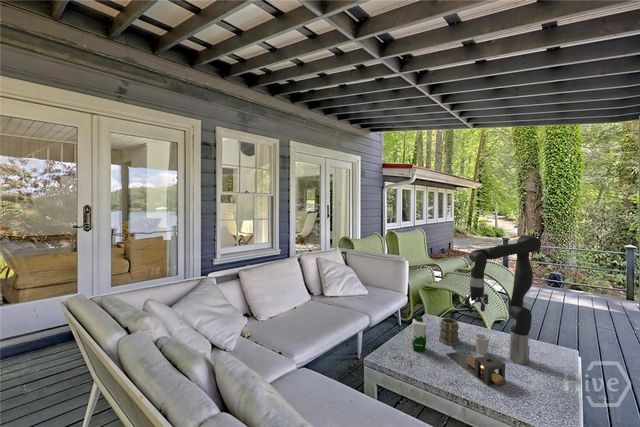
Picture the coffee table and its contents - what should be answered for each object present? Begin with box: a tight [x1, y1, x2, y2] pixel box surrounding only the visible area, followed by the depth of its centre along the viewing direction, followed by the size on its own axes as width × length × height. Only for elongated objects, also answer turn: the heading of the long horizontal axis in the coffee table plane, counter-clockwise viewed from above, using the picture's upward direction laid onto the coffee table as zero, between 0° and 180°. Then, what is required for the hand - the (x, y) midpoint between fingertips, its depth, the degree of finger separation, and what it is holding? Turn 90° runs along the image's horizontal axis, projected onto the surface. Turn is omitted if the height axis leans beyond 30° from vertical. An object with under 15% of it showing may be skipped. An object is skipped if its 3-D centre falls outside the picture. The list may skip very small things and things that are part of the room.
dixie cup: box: [474, 333, 490, 356], centre depth 203 cm, size 8×8×10 cm
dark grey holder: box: [445, 351, 507, 387], centre depth 184 cm, size 34×12×10 cm, turn 15°
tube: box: [466, 355, 504, 386], centre depth 177 cm, size 22×5×5 cm, turn 15°
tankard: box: [438, 317, 460, 346], centre depth 215 cm, size 20×13×15 cm, turn 159°
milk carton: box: [411, 315, 428, 353], centre depth 207 cm, size 9×9×20 cm
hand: (476, 311), depth 190 cm, fingers open, 8 cm apart
